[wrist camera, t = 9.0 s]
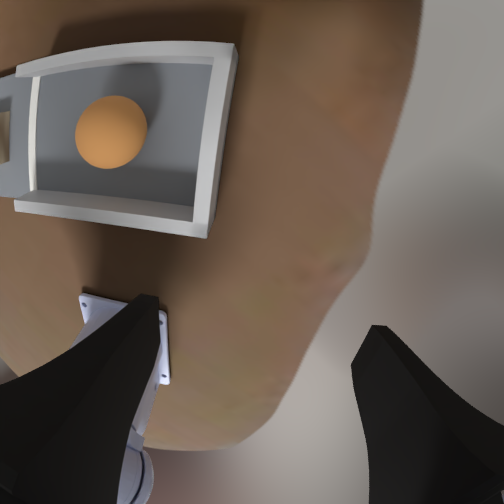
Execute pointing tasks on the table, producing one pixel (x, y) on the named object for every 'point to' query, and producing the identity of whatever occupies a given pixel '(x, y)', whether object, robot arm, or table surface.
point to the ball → (111, 132)
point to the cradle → (4, 136)
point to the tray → (155, 146)
